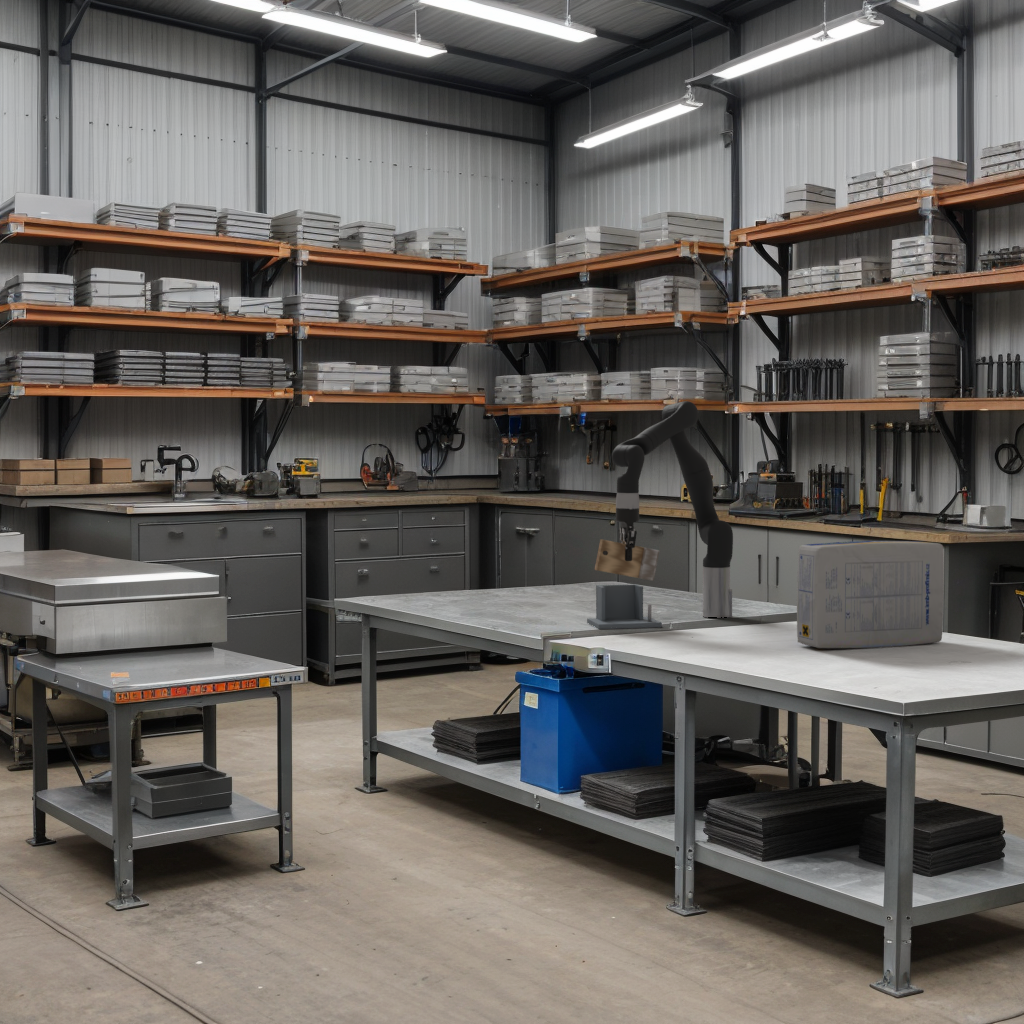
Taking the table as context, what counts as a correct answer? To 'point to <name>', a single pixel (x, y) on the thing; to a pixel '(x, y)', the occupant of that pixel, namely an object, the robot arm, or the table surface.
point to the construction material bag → (870, 594)
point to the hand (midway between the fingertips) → (627, 560)
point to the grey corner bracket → (621, 608)
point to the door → (614, 561)
